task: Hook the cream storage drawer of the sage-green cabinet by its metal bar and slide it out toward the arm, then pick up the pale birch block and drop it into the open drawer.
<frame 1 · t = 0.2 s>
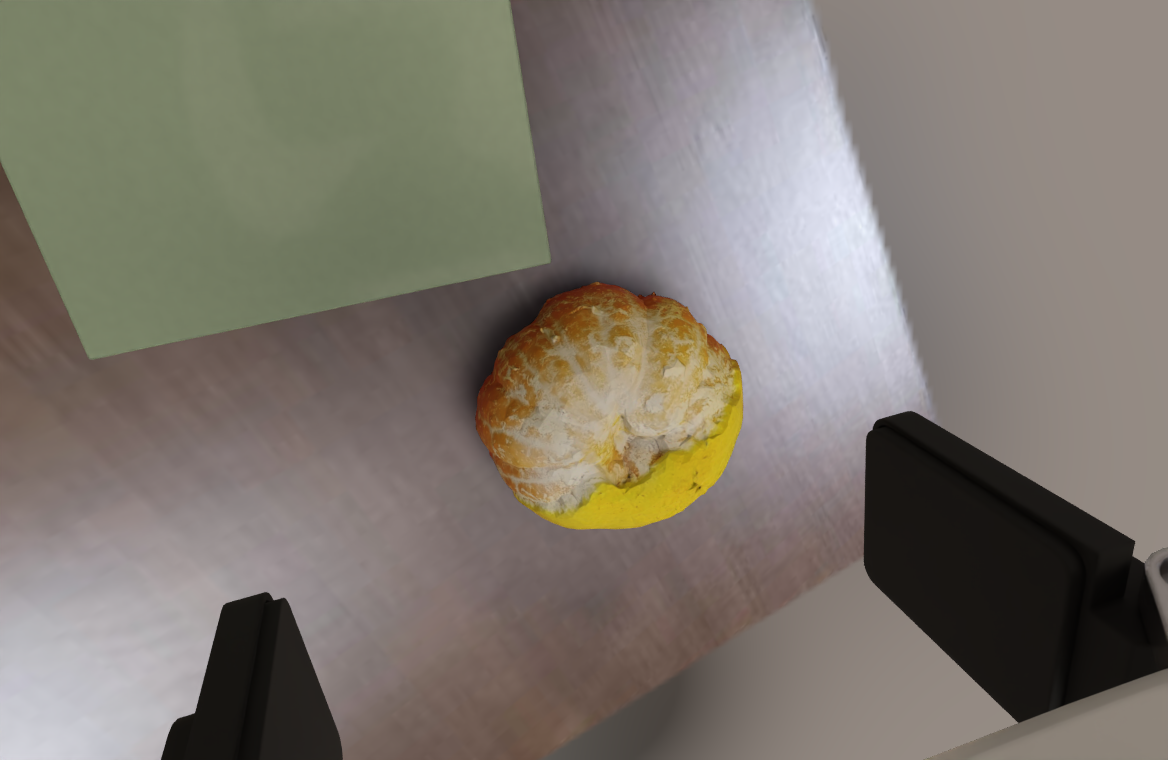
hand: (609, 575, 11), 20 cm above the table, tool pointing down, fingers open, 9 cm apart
cabinet: (282, 38, 25), on the table
fruit: (591, 383, 33), on the table
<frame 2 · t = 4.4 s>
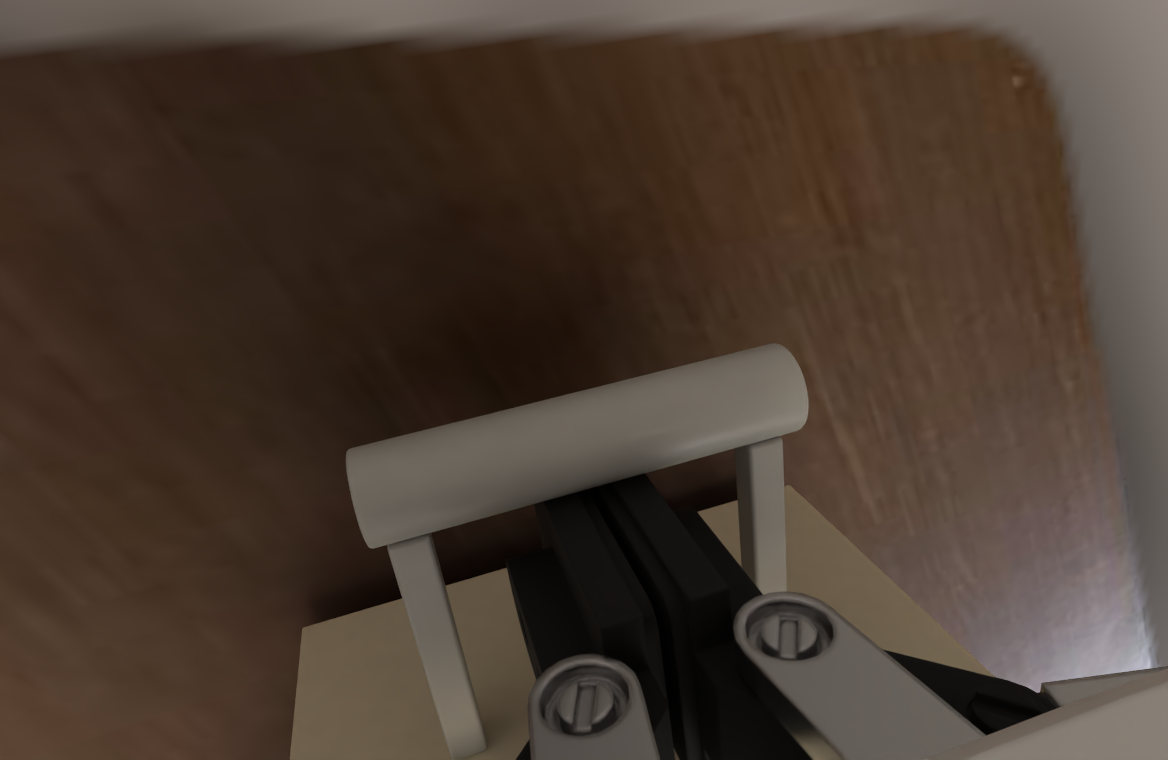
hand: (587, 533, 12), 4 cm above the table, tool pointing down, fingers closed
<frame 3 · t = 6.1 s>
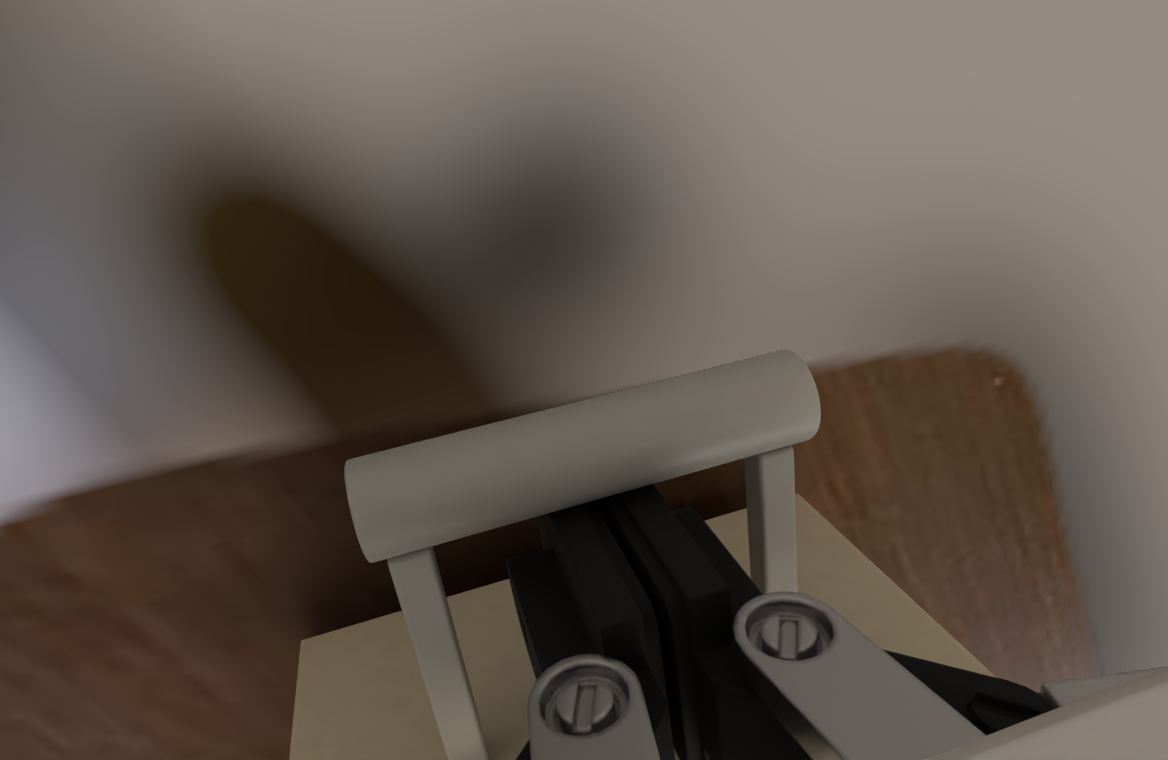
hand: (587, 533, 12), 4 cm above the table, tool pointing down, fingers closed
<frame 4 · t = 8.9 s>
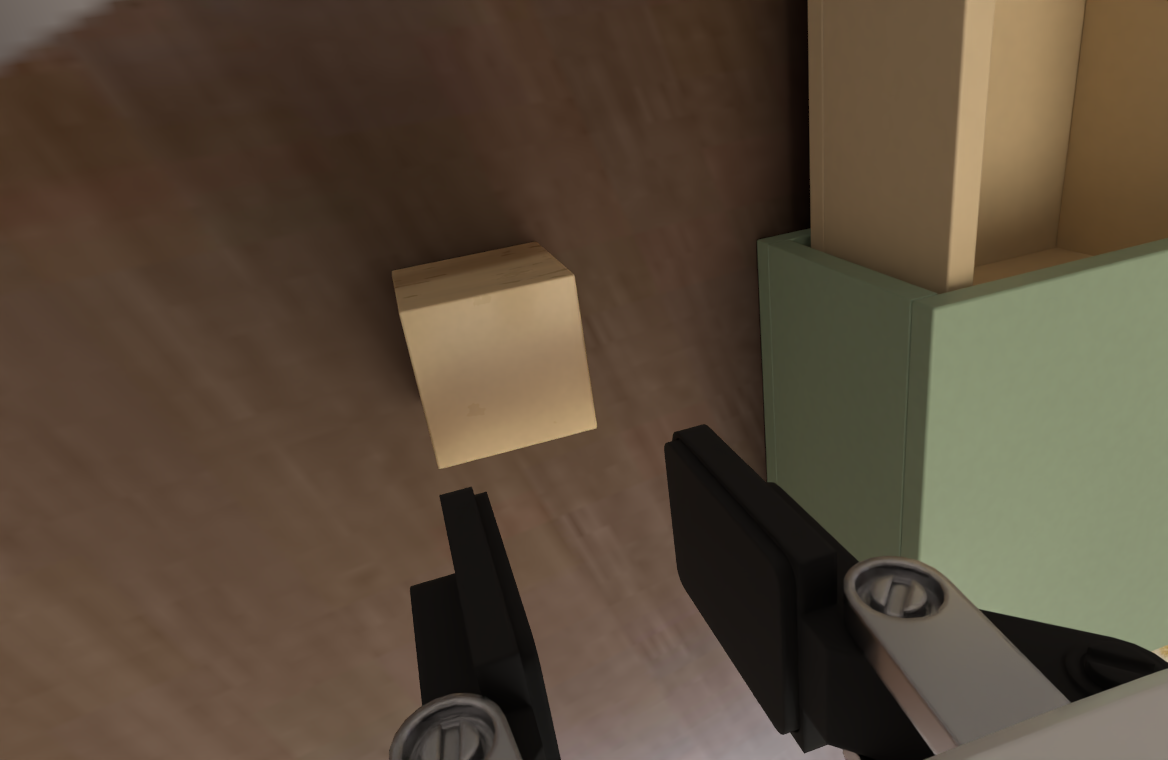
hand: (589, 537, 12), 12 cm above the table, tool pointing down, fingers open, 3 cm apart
cabinet: (908, 389, 29), on the table
block: (479, 324, 23), on the table
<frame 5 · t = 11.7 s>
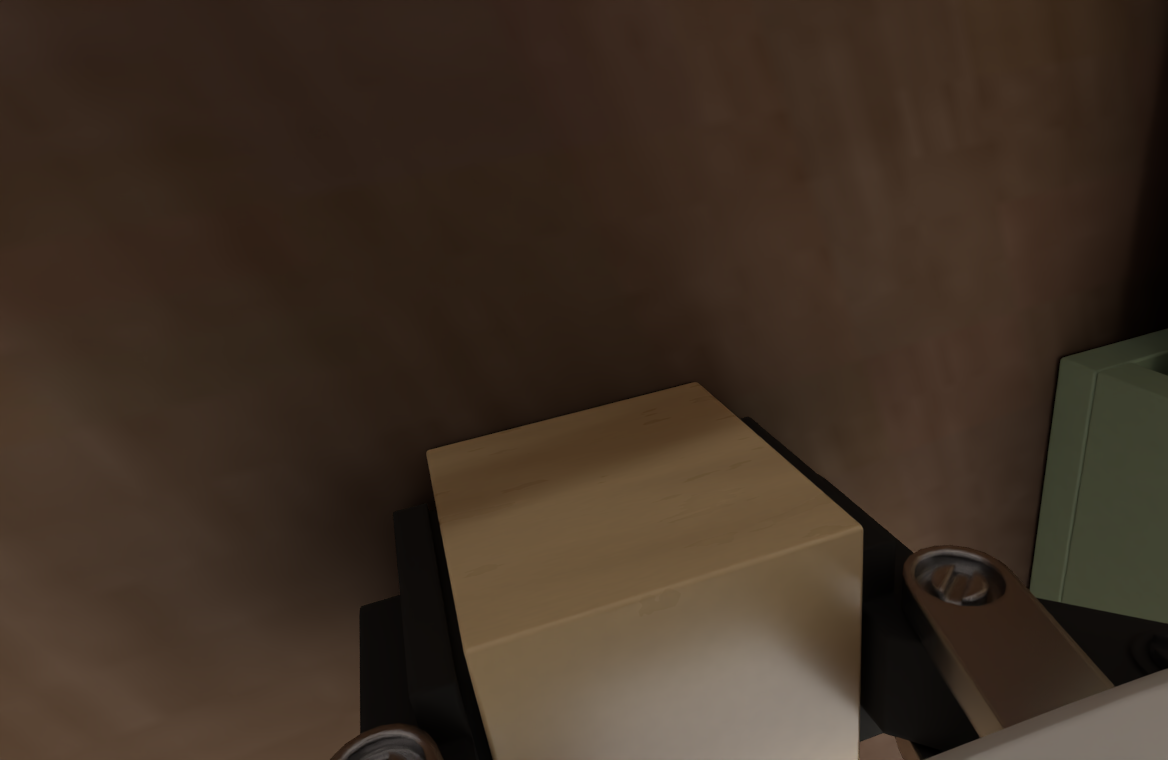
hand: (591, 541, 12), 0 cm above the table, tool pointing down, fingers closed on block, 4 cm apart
block: (585, 530, 13), on the table, touching gripper
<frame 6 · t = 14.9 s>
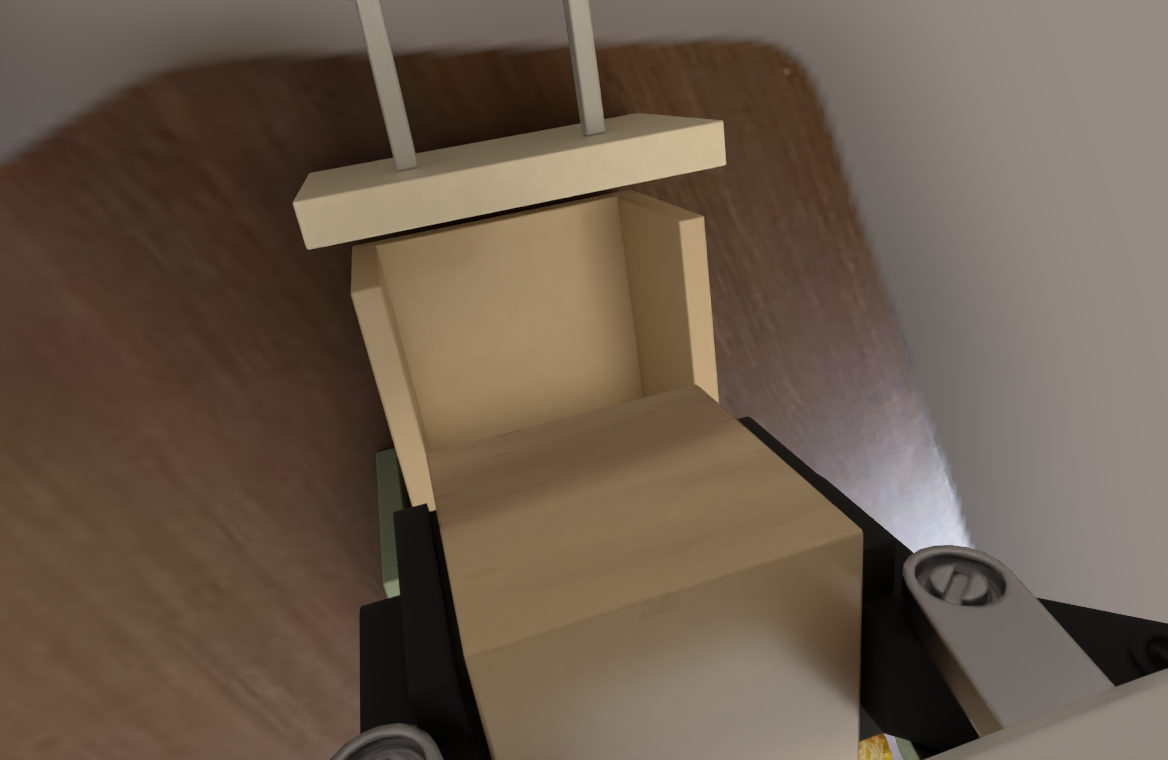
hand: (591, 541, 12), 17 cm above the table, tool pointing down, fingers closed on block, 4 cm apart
cabinet: (559, 556, 33), on the table
fruit: (757, 731, 41), on the table
block: (585, 532, 13), point 17 cm above the table, touching gripper
drawer: (521, 274, 23), point 4 cm above the table, slide at 9.5 cm
when the fingers open (7 cm above the table, at t = 17.9 s): block drops 5 cm, resting on drawer.
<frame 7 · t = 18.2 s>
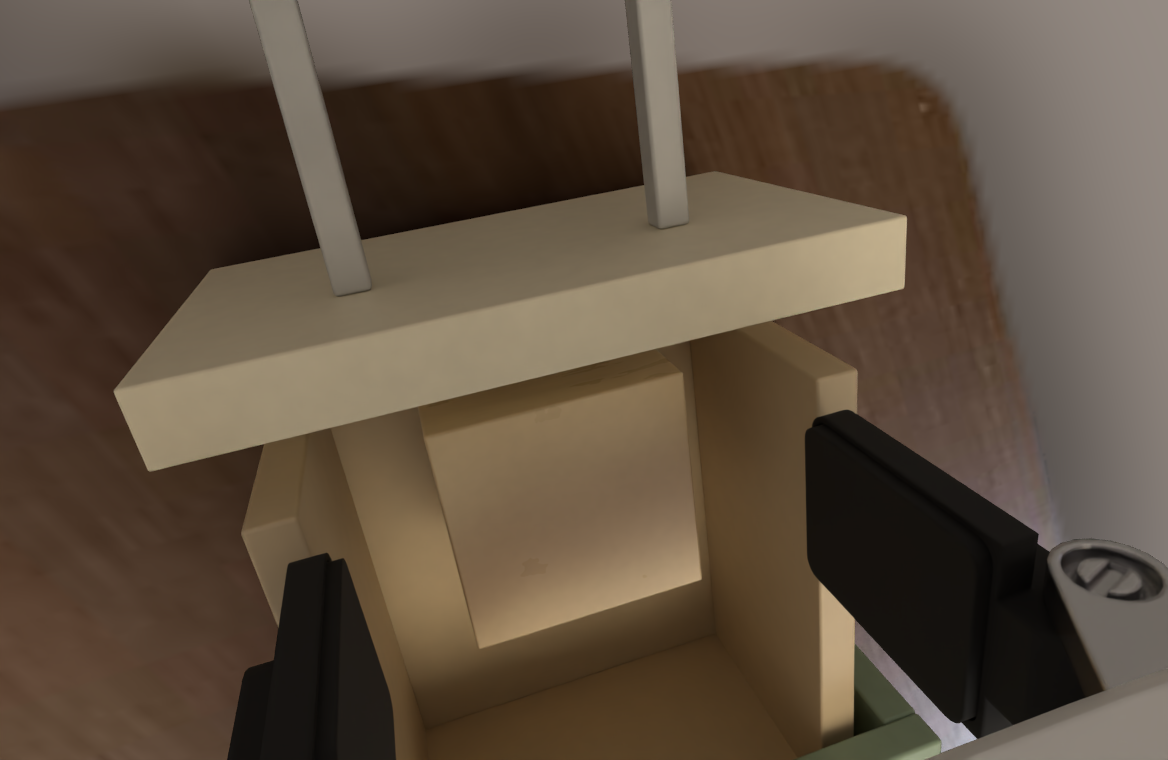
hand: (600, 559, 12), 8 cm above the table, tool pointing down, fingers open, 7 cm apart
cabinet: (583, 754, 24), on the table
block: (525, 415, 17), point 2 cm above the table, touching drawer
drawer: (543, 435, 15), point 4 cm above the table, slide at 9.5 cm, touching block
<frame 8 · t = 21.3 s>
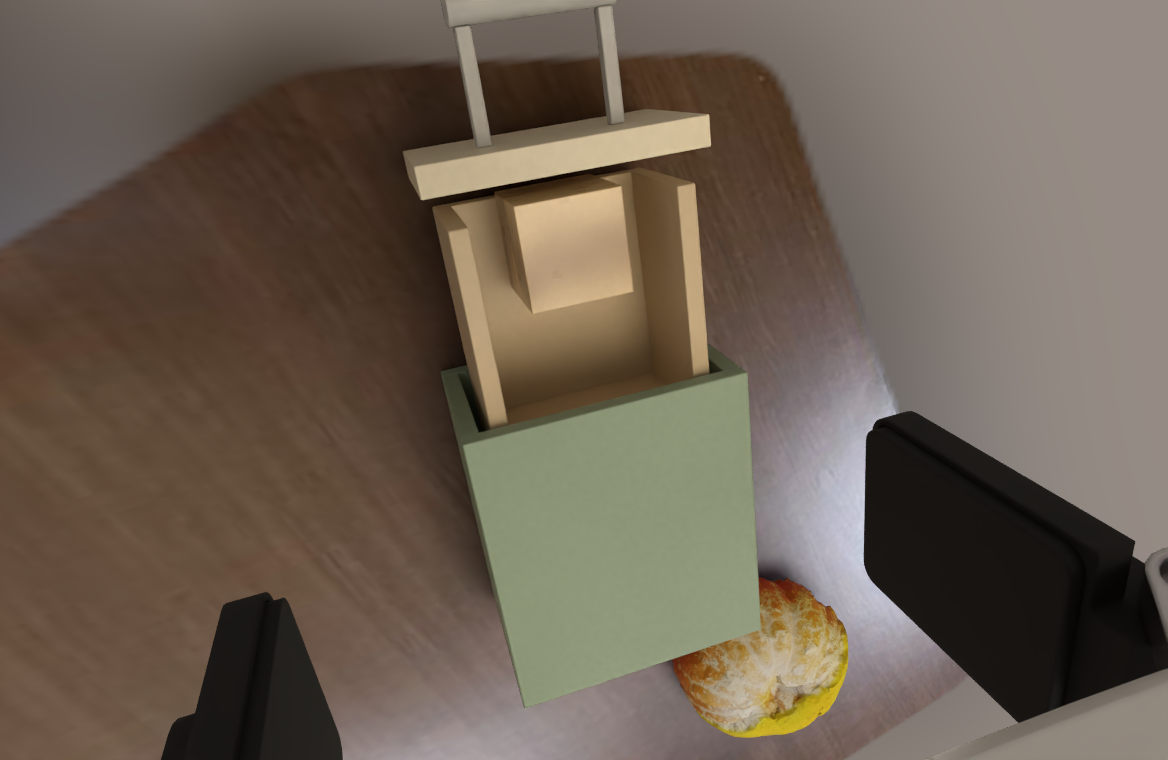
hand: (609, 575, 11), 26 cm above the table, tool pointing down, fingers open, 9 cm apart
cabinet: (579, 463, 41), on the table
fruit: (738, 625, 50), on the table
block: (550, 231, 34), point 2 cm above the table, touching drawer
drawer: (560, 227, 32), point 4 cm above the table, slide at 9.5 cm, touching block
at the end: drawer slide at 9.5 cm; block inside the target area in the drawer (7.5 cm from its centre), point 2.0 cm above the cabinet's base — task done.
